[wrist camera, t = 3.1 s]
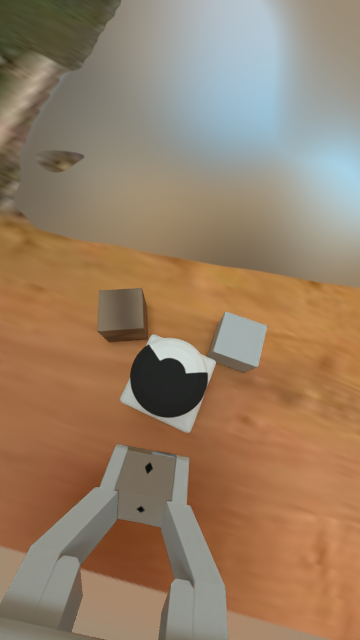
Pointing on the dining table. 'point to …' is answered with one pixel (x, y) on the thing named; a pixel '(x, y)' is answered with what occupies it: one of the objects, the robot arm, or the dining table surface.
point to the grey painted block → (237, 342)
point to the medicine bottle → (169, 381)
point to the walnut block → (122, 315)
